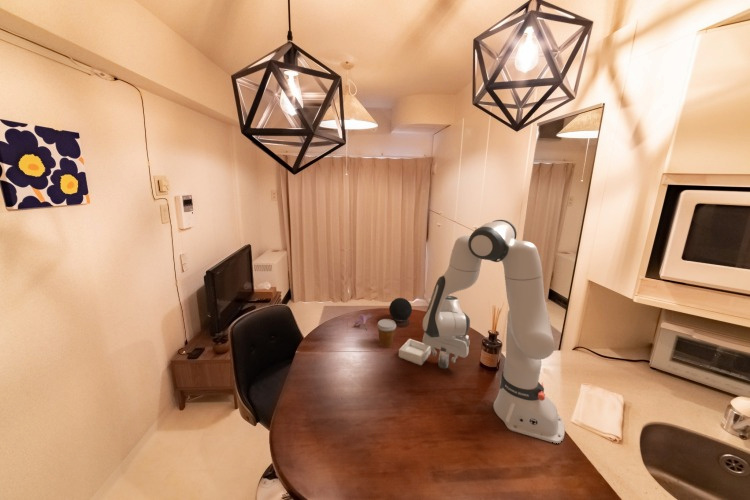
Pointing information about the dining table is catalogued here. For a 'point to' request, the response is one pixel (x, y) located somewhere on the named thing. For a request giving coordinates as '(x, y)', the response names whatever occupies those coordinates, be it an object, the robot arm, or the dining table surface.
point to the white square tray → (415, 351)
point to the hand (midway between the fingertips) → (443, 358)
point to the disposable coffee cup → (386, 332)
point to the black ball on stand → (400, 312)
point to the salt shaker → (443, 358)
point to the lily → (362, 319)
